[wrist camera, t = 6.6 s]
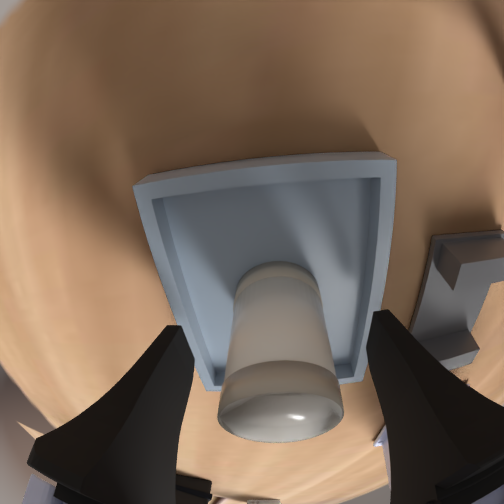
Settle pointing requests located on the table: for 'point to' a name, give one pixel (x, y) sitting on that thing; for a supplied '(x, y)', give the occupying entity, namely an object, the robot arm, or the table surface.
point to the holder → (456, 293)
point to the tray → (272, 243)
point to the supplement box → (263, 502)
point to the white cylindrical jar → (279, 359)
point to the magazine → (192, 490)
